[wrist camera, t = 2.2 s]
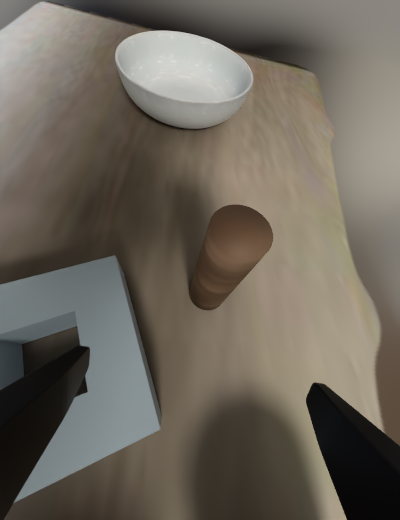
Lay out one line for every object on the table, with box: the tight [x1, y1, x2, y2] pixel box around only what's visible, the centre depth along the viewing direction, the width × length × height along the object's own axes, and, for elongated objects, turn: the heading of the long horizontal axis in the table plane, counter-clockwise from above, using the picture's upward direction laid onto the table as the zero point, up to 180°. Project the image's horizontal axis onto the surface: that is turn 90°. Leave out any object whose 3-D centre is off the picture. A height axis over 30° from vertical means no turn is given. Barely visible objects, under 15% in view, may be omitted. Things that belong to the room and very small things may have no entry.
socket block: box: [0, 255, 162, 503], centre depth 17 cm, size 14×14×4 cm
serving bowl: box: [115, 31, 253, 129], centre depth 36 cm, size 21×21×7 cm
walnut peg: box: [189, 205, 273, 310], centre depth 19 cm, size 4×4×12 cm
